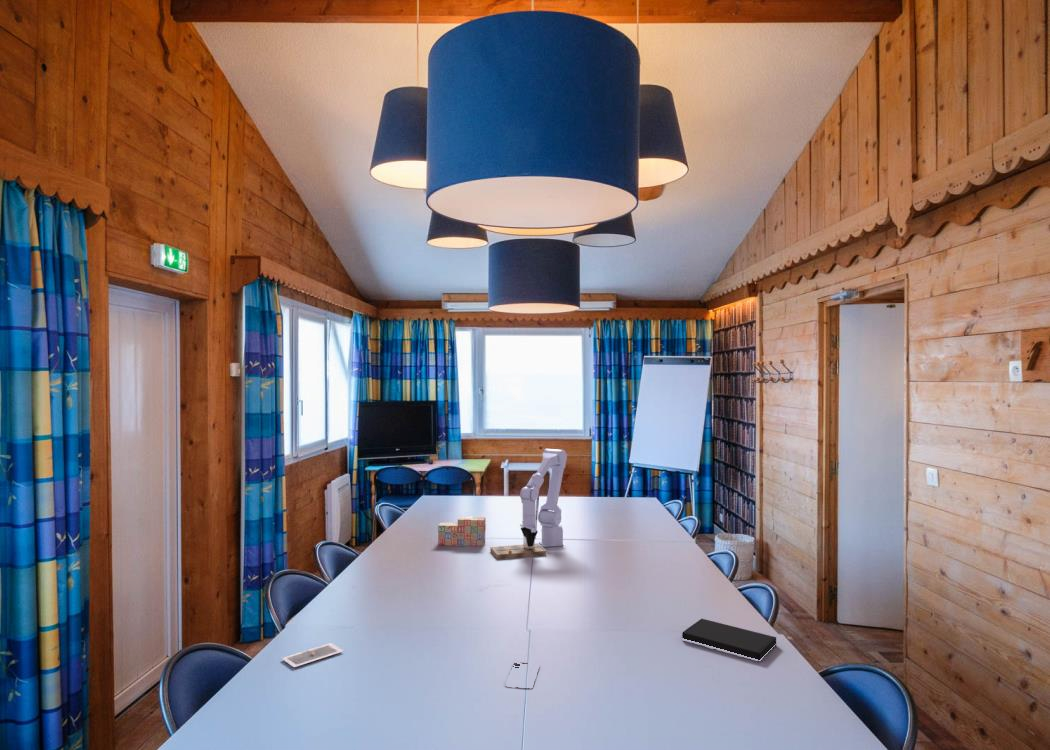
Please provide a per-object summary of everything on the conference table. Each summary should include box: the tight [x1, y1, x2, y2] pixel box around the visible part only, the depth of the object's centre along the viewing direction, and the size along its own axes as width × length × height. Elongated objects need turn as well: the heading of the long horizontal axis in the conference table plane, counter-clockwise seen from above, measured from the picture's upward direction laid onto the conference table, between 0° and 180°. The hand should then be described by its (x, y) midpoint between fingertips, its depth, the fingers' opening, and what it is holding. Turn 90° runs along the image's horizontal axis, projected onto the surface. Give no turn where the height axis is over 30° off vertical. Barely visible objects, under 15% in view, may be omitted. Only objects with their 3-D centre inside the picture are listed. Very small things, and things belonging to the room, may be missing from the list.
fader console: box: [489, 543, 547, 560], centre depth 290 cm, size 22×12×3 cm, turn 106°
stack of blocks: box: [437, 516, 487, 547], centre depth 305 cm, size 21×6×12 cm, turn 86°
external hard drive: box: [681, 618, 777, 660], centre depth 196 cm, size 14×23×3 cm, turn 52°
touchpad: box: [281, 642, 345, 668], centre depth 186 cm, size 8×15×2 cm, turn 134°
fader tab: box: [522, 535, 536, 549], centre depth 291 cm, size 4×4×5 cm
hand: (528, 544), depth 291 cm, fingers closed on fader tab, 4 cm apart
